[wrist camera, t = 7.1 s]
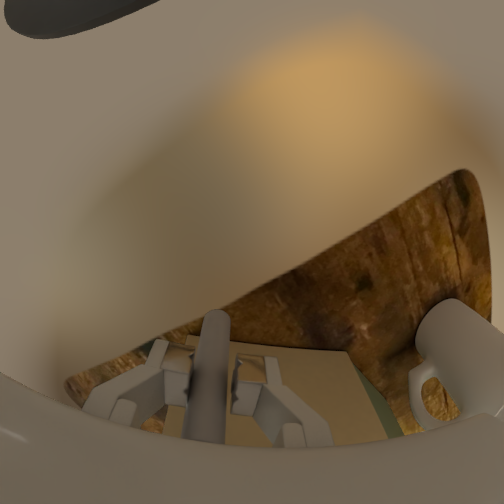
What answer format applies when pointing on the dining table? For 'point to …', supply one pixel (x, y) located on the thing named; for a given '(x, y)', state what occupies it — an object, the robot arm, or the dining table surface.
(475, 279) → the dining table surface
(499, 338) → the mug
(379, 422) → the cupboard door
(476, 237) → the dining table surface
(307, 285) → the dining table surface
